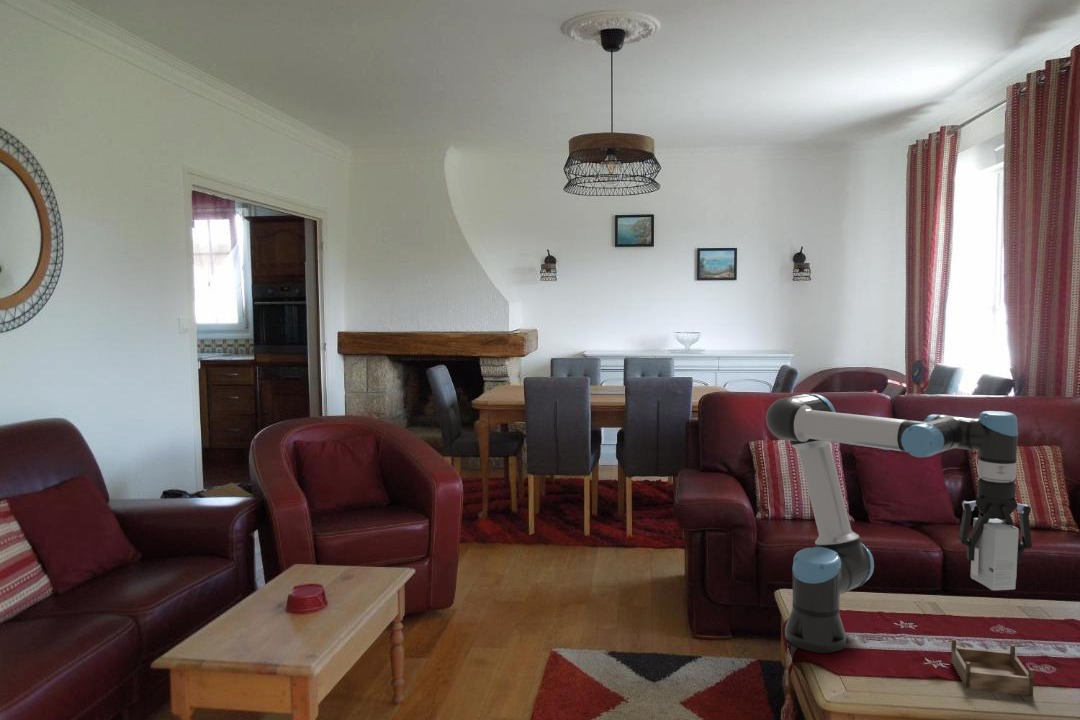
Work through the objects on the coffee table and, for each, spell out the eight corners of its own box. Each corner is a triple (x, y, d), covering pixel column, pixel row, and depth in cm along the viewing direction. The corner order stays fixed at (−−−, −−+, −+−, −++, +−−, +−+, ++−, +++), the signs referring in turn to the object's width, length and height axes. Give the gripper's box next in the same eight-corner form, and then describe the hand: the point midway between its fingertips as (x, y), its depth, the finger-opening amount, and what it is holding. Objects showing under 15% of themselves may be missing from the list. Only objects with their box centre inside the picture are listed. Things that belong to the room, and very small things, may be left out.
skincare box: (969, 578, 176) (970, 517, 175) (993, 576, 176) (994, 515, 175) (993, 591, 168) (994, 528, 166) (1018, 590, 168) (1019, 526, 167)
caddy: (965, 688, 170) (966, 663, 170) (950, 661, 182) (951, 638, 182) (1032, 695, 166) (1034, 670, 166) (1013, 668, 179) (1014, 644, 178)
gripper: (952, 480, 169) (949, 577, 171) (1053, 484, 164) (1049, 584, 166) (944, 472, 176) (941, 565, 178) (1040, 476, 171) (1036, 572, 173)
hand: (993, 574), depth 172 cm, fingers closed on skincare box, 7 cm apart
